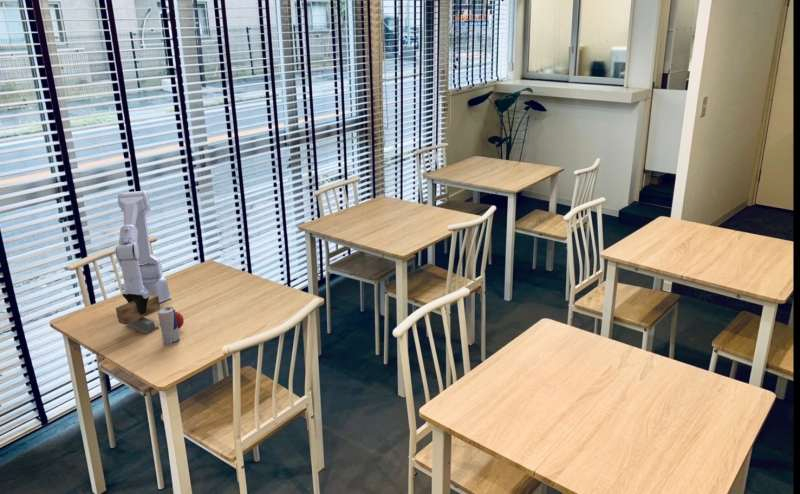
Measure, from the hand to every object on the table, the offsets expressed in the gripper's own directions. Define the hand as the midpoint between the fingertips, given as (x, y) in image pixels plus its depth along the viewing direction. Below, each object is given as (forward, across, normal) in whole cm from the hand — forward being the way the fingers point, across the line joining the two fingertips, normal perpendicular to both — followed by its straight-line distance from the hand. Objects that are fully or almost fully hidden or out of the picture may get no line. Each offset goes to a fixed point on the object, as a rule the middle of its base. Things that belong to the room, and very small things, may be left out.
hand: (139, 312), depth 224 cm
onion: (+6, +13, +5) cm, 15 cm away
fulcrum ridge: (+6, 0, 0) cm, 6 cm away
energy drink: (+6, +19, -1) cm, 20 cm away
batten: (+2, 0, 0) cm, 2 cm away
